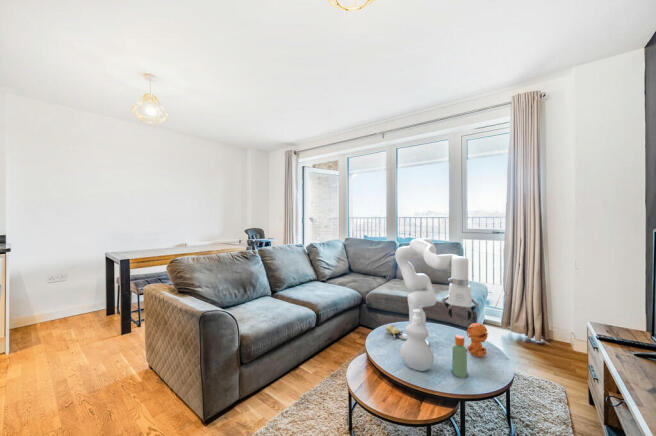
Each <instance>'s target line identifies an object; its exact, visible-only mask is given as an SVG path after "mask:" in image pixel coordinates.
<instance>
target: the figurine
mask: <svg viewBox="0 0 656 436" xmlns="http://www.w3.org/2000/svg"><path fill="white" fill-rule="evenodd" d="M384 329H385V332H386V333H387V334H388V335H393V338H394V339H395V338H397V339H401V340H404V341H406V340H407V339H403V337H402V334H404V331H403V330H400V329H399V328H396V326H395V325H394V324H388V325H386V326H385V327H384Z"/></svg>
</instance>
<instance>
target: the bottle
mask: <svg viewBox="0 0 656 436" xmlns="http://www.w3.org/2000/svg"><path fill="white" fill-rule="evenodd" d="M451 348H452V359H451V360H452V361H451V362H452V372H451V373H452V374H453V375H454V376H455V377H458V378H464V379H465V378H467V376H468V347H466V345H465V344H464V345H463V346H460V345H457V344H455V343H454V344H453V345H452V347H451Z"/></svg>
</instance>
